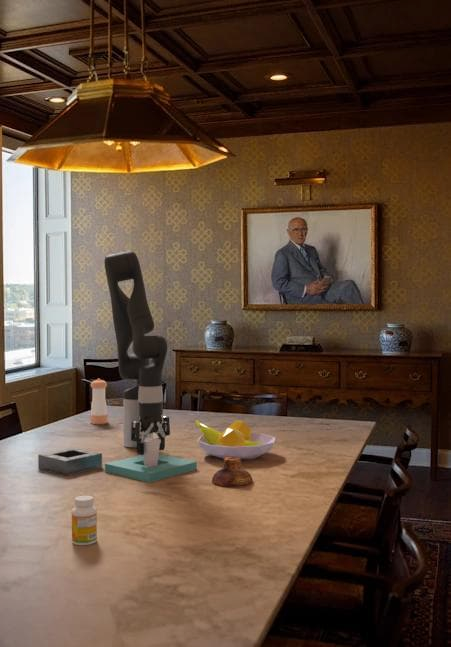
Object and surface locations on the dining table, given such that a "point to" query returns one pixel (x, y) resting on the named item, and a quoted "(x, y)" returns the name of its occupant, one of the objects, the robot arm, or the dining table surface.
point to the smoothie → (151, 451)
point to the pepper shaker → (98, 402)
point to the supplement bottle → (84, 521)
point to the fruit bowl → (234, 441)
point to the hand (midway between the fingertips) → (151, 452)
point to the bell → (232, 474)
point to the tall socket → (70, 461)
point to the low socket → (150, 468)
